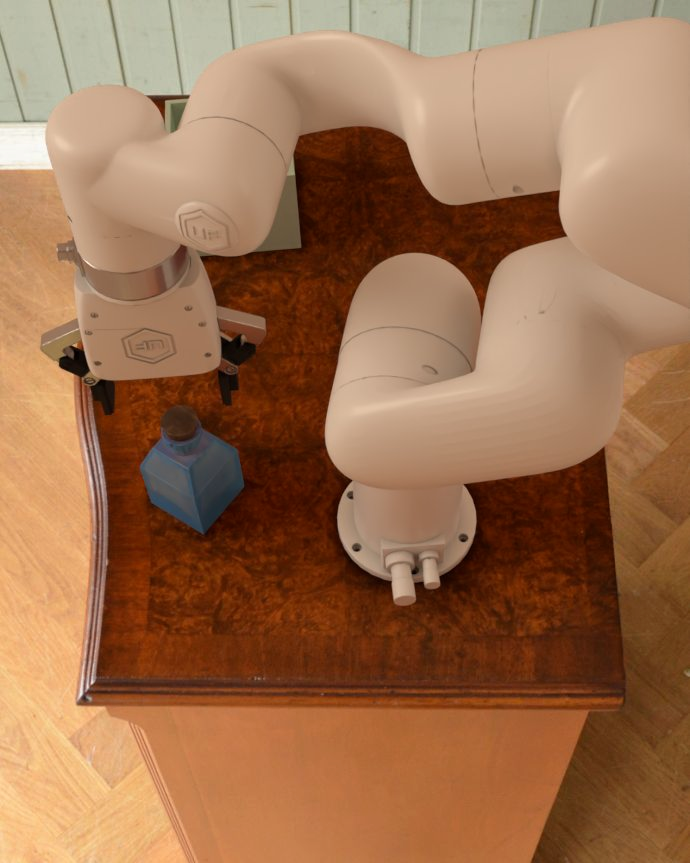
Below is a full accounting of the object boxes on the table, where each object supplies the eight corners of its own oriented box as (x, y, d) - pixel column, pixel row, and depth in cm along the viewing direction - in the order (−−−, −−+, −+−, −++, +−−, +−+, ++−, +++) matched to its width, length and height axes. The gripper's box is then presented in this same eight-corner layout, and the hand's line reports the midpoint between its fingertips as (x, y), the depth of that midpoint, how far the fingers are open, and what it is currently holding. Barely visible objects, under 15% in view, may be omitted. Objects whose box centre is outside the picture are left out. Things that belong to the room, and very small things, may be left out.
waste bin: (301, 248, 125) (294, 174, 116) (180, 258, 125) (164, 185, 116) (294, 165, 132) (287, 90, 124) (179, 174, 132) (165, 100, 123)
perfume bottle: (244, 486, 108) (230, 411, 98) (203, 534, 105) (184, 462, 95) (192, 456, 110) (173, 380, 100) (151, 502, 107) (127, 429, 97)
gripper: (5, 301, 78) (61, 442, 92) (259, 282, 79) (275, 425, 93) (14, 223, 83) (66, 369, 97) (254, 205, 83) (271, 353, 97)
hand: (168, 396), depth 95 cm, fingers open, 9 cm apart
